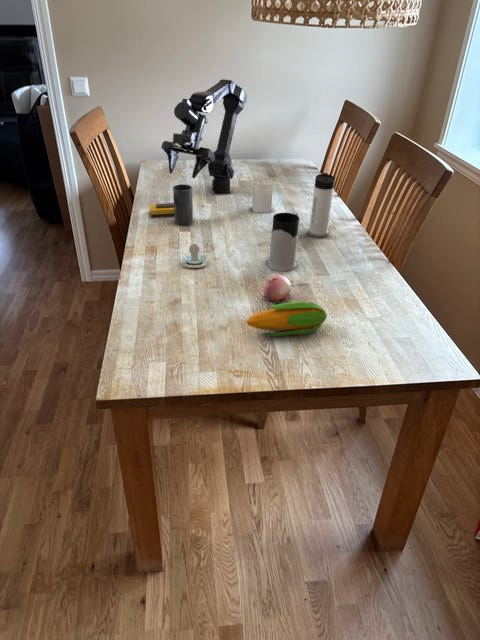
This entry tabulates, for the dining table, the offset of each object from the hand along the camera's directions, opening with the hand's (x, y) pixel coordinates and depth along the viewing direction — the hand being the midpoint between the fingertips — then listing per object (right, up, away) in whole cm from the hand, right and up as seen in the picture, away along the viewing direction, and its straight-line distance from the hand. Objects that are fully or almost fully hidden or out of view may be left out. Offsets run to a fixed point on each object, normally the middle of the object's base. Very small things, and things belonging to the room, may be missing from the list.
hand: (181, 175), depth 171 cm
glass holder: (+34, -32, -18) cm, 50 cm away
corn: (+31, -53, -49) cm, 79 cm away
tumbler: (0, -15, +3) cm, 16 cm away
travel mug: (+47, -20, -1) cm, 51 cm away
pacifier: (+6, -33, -22) cm, 41 cm away
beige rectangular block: (+28, -9, +14) cm, 33 cm away
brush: (-6, -11, +9) cm, 16 cm away
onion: (+30, -44, -37) cm, 65 cm away
